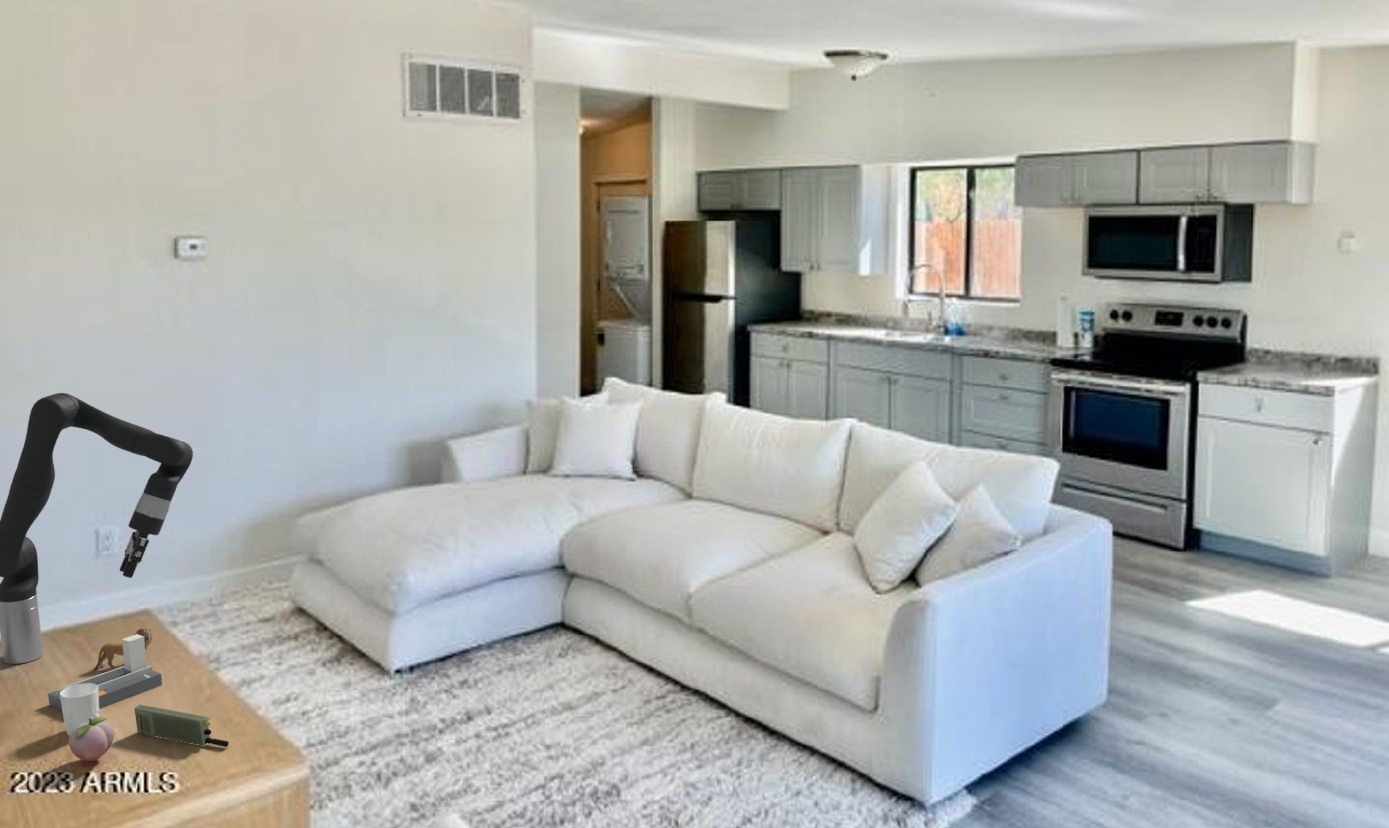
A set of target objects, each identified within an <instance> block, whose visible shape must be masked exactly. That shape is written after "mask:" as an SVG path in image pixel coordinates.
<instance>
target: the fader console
mask: <svg viewBox="0 0 1389 828" xmlns="http://www.w3.org/2000/svg"><path fill="white" fill-rule="evenodd" d="M124 668H125V665H123V666H120V667H117V669H111V670H108V671H106V672H103V673H100V674H96V675H94V676H91V677H89V678H85V679H84V680H80V681H77V682H74V683H71V684H68V685H65V686H63V687H59V688H57V689H56V690H54V691H52V692H49V693H48V695H47V697H48V705H49V706H50V707H53V708H55V709H57V710H60V711H62V706H61V699H60V692H61V691H62V690H63V689H65V688H67V687H70V686H73V685H77V684H83V683H92V684H96V685H97V686H98V691H99V710H100V709H102V708H104V707H107V706H110V705H112V704H115V703H118V702H120V701H123V700H126V699H128V698H131V697H134V696H137V695H139V694H141V693H142V694H143V693H145V692H147V691H149V690H152V689H154V688H157V687H158V688H159V687H161V686H163V679H162V673H160V672H157V671H155V670H153V665H149V666H147V667H146V668H143V669H140V670H138V671H135V672H132V673H129V674H127V673H125V672H124Z"/></svg>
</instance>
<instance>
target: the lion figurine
mask: <svg viewBox="0 0 1389 828" xmlns="http://www.w3.org/2000/svg"><path fill="white" fill-rule="evenodd" d="M151 631H152V630H151V628H149V627H140V628H139V629H137V630H136V632H135V633H133V635H136V634H138V635H141V636H144V642H145V651H146V650H147V649H148V646H149V645H150V644H151V642H152V639H153V635H152V632H151ZM115 655H117V656H122V657H124V654H123V643H122V642H108V643H105V644H104V645H103V646H102V647H101V648H100V650H99V653H98V658H97V659H98V660H97V662H96V663H97V664H96V665H95V667H94V668H93V670H94V671H95V670H96V671H97V670H98V668H104V667H106V664H104V663H103V662H104V661H106V660H107V665H108V666H109V668H110V669H111V670H114V669H117V668H118V667H117V666H116V665H113V660H114V657H115Z"/></svg>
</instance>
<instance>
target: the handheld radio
mask: <svg viewBox="0 0 1389 828" xmlns="http://www.w3.org/2000/svg"><path fill="white" fill-rule="evenodd" d="M134 716H135V722H136V731H137V734H138V735H143V736H149V737H153V736H158V737H162V738H161V739H163V738H167V739H166V740H168V739H172V740H171V741H173V740H175V741H174V742H178V741H182V742H181V743H183V742H186V743H185V744H188V743H193V744H199V745H205V744H207V743H208V745H210V744H211V745H215V746H219V747H223V748H227V747H228V746H229V745H230V743H229V741H228V740H225V739H224V740H223V739H218V738H212V737H211V734H212V730H211V729H210V725H211V723H210V722H209V720H211V717H208V716H204V715H199V714H193V713H188V712H183V711H177V710H173V709H168V708H161V707H156V706H155V707H154V706H152V705H151V706H150V705H144V704H139V705H137V706H135V707H134ZM158 737H157V738H158ZM176 740H177V741H176ZM193 744H192V745H193ZM199 745H198V746H199Z"/></svg>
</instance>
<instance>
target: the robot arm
mask: <svg viewBox="0 0 1389 828" xmlns="http://www.w3.org/2000/svg"><path fill="white" fill-rule="evenodd" d="M68 428H77V429H83V430H85V431H86V430H87V431H89V432H92V433H94V434H96V435H98V436H99V437H101V438H102V439H103V440H104V441H106V442H108V443H109V444H111V445H112V446H113V447H116V448H118V449H121V450H122V451H126V452H129V453H132V454H135V455H138V456H141V457H145V458H148V459H151V460H152V461H155V462H157V463H159V464H160V465H159V466H158V469H157V470H156V472H153V473H152V474H150V476H149V478H148V480H147V482H146V484H145V487H144V489H143V492H142V494H141V495H140V498H139V499H138V501H137V504H136V506H135V507H134V511H133V513H132V514H131V518H130V520H129V522H128V524H127V525H128V527H129V528H130V529H132V530H134V531H133V532H132V533H131V536H130V538H129V540H128V542H127V544H126V545H127V546H126V549H124V554H123V555H124V557H123V560H122V563H121V565H120V567H119V571H120V572H122V576H123V577H125V578H129V579H131V578H133V576H134V574H135V572H136V569H137V566H138V565H139V564H140V563H141V562H142V559H143V557H144V554H145V552H146V551H147V550H146V549H147V547H148V545H149V543H150V539H148V537H149V535H152V536H158V535H159V534H160V532H161V530H162V527H163V526H164V522H165V520H166V518H167V515H168V513H169V511H170V507H171V502H172V500H173V497H174V495H175V492H176V490H177V487H178V485H179V484H180V482H181V480H182V479H183V477H184V476H185V474H186V473H187V471H188V469H189V468H190V466H191V463H192V461H193V457H194V451H193V448H192V447H191V445H190V444H189V443H188V442H186V441H182V440H180V439H177V438H174V437H170V436H168V435H167V436H166V435H164V434H160V433H157V432H155V431H153V430H150V429H148V428H145V427H143V426H140V425H137V424H135V423H131V422H129V421H125V420H123V419H121V418H118V417H115V416H114V415H111V414H108V413H107V412H104V411H102V410H100V409H99V408H97V407H95V406H92V405H91V404H89V403H87V402H86V401H83V399H82V400H81V398H78V397H76V396H74V395H72V394H69V393H67V392H57V393H53V394H50V395H47V396H44V397H41V398H40V399H38V400H37V401H36V402H34V404H33V406H31V409H30V413H29V416H28V423H27V427H26V435H25V439H24V443H23V446H22V450H21V453H20V457H19V460H18V463H17V466H16V469H15V471H14V474H13V477H12V480H11V484H10V488H9V490H8V495H7V498H6V501H5V505H4V507H3V511H2V514H1V517H0V578H2V580H1V582H0V643H1V645H0V646H1V652H2V658H3V662H4V663H6V664H9V665H10V664H11V665H16V664H25V663H29V662H33V661H35V660H38V659H39V658H41V657H42V656H43V655H44V652H43V651H44V649H43V642H42V641H43V639H42V633H41V632H42V631H41V621H40V611H39V602H38V595H37V593H38V592H37V587H38V583H39V579H40V578H39V577H40V576H39V562H38V561H39V558H38V551H37V547H36V545H35V544H34V542H33V541H32V540H31V539H30V538H29V537H28V536H27V534H28V532H29V529H30V528H31V527H32V525H33V524H34V522H35V521H36V520H37V518H38V517H39V515H40V514H41V512H42V511H43V510H44V508H45V507H46V505H47V504H48V501H49V498H50V496H51V493H52V489H53V486H54V482H55V480H56V479H55V478H56V471H55V464H54V455H53V454H54V451H55V450H54V449H55V446H56V445H57V441H58V439H59V437H60V435H61V432H62V431H63V430H65V429H68Z"/></svg>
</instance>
